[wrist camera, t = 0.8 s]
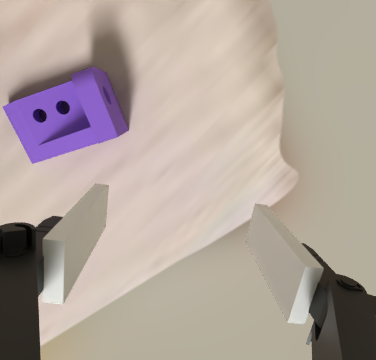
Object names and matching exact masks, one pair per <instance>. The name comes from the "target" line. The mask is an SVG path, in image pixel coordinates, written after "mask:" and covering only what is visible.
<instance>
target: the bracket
mask: <svg viewBox="0 0 376 360" xmlns="http://www.w3.org/2000/svg"><path fill="white" fill-rule="evenodd" d="M62 101H66V102H67V103H68V104H69V106H70V111H69V112H68V113H67V114H64V113H63V111H62V109H61V103H62ZM3 108H4V110H5V112H6V114H7V116H8V118H9V120H10V122H11V124H12V126H13V128H14V129H15V131H16V133H17V135H18V137H19V139H20V141H21V143H22V145H23V147H24V149H25V151H26V152H27V154H28V156H29V158H30V160H31V162H32V164H33V163H36V162H39V161H43V160H46V159H49V158H52V157H55V156H58V155H61V154H65V153H68V152H71V151H74V150H77V149H80V148H84V147H87V146H90V145H93V144H96V143H101V142H104V141H107V140H110V139H113V138H116V137H118V136H120V135H122V134H123V133H125V132H127V131H128V130H129V129H128V127H127V124H126V122H125V119H124V117H123V114H122V111H121V109H120V106H119V104H118V101H117V99H116V96H115V94H114V91H113V89H112V86H111V83H110V81H109V78H108V76H107V73H106V72H104V71H102V70H100V69H98V68H96V67H91V68H88V69H85V70H82V71H79V72H76V73H74V74H72V81H69V82H67V83H64V84H61V85H58V86H55V87H53V88H50V89H47V90H44V91H41V92H38V93H36V94H33V95H30V96H27V97H24V98H21V99H19V100H16V101H14V102H12V103H9V104H7V105H5V106H3ZM40 109H42V110H44V111H45V113H46V115H47V118H46V120H45V121H44V122H43V121H42V120H41V118H40V116H39V112H40Z"/></svg>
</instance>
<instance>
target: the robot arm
mask: <svg viewBox="0 0 376 360" xmlns="http://www.w3.org/2000/svg"><path fill="white" fill-rule="evenodd" d="M108 187H109V185H103V184H95V185H94V186H93V187H92V188H91V189H90V190H89V191H88V192H87V193H86V194H85V195H84V196H83V197H82V198H81V199H80V200H79V201H78V203H77V204H76V205H75V206H74V207H73V208H72V209H71V210H70V211H69V212H68V213H67V214H66V215H65V216H64V217H58V216H52V217H50V218H48V219H45V220H43V221H42V222H41V223H40V224H39V225H38V227H36V228H35V227H34V226H33V225H31V224H28V223H9V224H4V225H1V226H0V360H40V335H39V310H38V296H39V295H40V293H41V292H42V291H43V303H55V304H64V302H65V300H66V298H67V296H68V294H69V293H70V291H71V289H72V287H73V285H74V283H75V282H76V280H77V278H78V276H79V274H80V272H81V271H82V269H83V267H84V265H85V263H86V261H87V260H88V258H89V256H90V254H91V252H92V251H93V249H94V247H95V245H96V243H97V241H98V240H99V238H100V236H101V234H102V232H103V230H104V229H105V227H106V215H107V201H108ZM246 243H247V245H248V247H249V249H250V251H251V253H252V255H253V257H254V259H255V261H256V263H257V264H258V266H259V268H260V270H261V272H262V274H263V276H264V278H265V280H266V282H267V284H268V286H269V288H270V289H271V292H272V293H273V295H274V297H275V299H276V301H277V303H278V305H279V307H280V309H281V311H282V313H283V315H284V317H285V319H286V321H287V322H288V323H297V324H305V322H306V319H307V316H308V313H310V314H311V316H312V317H313V319H314V322H313V325H312V329H311V331H310V334H309V337H308V339H307V343H306V344H308V345H309V344H310V342H311V341H312V360H376V296H372V295H369V294H367V292H366V290H365V289H364V287H363V286H362V285H360V284H359V283H358V282H356V281H354V280H353V279H351V278H349V277H346V276H343V275H339V274H336V273H335V272H334V271H333V270H332V269H331V268H330V267H329V266H328V265H327V264H326V263H325V262H324V261H323V260H322V258H321V257H319V256H318V254H317V253H316V252H315V251H314V250H313V249H312V248H310V247H309V246H307V245H306V244H304V243H300V241H299V240H298V239H297V238H296V237H295V236H294V235H293V234H292V233H291V232H290V230H289V229H288V228H287V227H286V226H285V225H284V224H283V223H282V222H281V221H280V219H279V218H278V217H277V216H276V215H275V214H274V213H273V212H272V211H271V209H270V208H269V207H268V206H267V205H262V204H255V206H254V210H253V214H252V218H251V223H250V227H249V231H248V235H247V239H246Z"/></svg>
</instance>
